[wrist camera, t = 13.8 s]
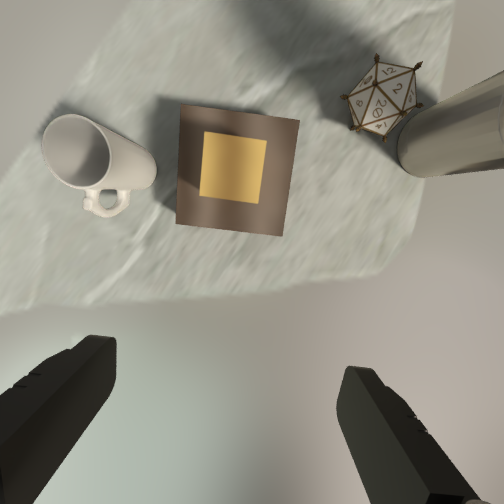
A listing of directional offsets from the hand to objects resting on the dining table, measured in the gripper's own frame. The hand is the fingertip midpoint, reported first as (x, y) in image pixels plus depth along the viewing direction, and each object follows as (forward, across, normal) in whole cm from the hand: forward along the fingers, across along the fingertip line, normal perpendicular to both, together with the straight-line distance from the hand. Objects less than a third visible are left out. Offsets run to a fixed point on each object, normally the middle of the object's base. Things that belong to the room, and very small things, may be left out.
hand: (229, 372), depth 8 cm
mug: (+30, +17, -6) cm, 35 cm away
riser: (+29, +2, -9) cm, 31 cm away
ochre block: (+23, +2, -9) cm, 25 cm away
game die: (+29, -14, -20) cm, 38 cm away
